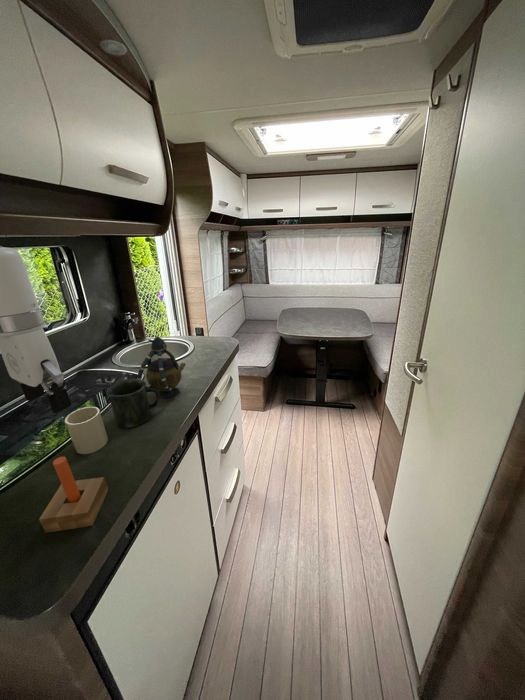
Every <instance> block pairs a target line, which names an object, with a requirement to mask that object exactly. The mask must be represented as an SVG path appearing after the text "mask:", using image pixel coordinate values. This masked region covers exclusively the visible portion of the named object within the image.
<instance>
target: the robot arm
mask: <svg viewBox="0 0 525 700" xmlns="http://www.w3.org/2000/svg"><path fill="white" fill-rule="evenodd" d="M45 326H46V323H45V319H44V316H43V314H42V311H41V308H40V306H39V302H38V299H37V296H36V294H35V291H34V289H33V286H32V282H31V279H30V277H29V274H28V271H27V268H26V265H25V263H24V260H23V258H22V255H21V254H20V252H19V251H17V249H14V248H11V247H6V246H5V247H4V246H3V247H1V246H0V354H1V357H2V360H3V362H4V366H5V368H6V370H7V373H8V376H9V377H10V378H11V379H12V380H14V381H17V382H18V383H19V386H20V389H21V391H22V393H23V396H24V398H25V400H26V401H28V402H31V401H33V400H36V399H38V398H40V397H43V396H45V397H46V400H47V403H48V405H49V407H50V410H51V412H52V413H53V414H58V413H59V412H61V411H64V410H65V409H67V408H69V407H71V406H72V402H71V400H70V397H69V394H68V391H67V386H66V382H65V375H64V373H63V372H62V371H61V368H60V364H59V362H58V360H57V359H58V358H57V356H56V354H55V351H54V349H53V347H52V345H51V342H50V340H49V338H48V336H47V334H46V332H45V330H44V328H45ZM51 382H52V383H51ZM49 383H51V385H49ZM46 393H47V394H46Z"/></svg>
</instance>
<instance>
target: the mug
mask: <svg viewBox="0 0 525 700" xmlns="http://www.w3.org/2000/svg"><path fill="white" fill-rule="evenodd" d="M145 386H147V383H146V381H145V380H143V379H137V378H129V379H124V380H120V381H117V382H115V383H113V384H111V385H110V386H108V388H107V389H106V390H105V391H106V392H105V393H106V396H108V398H109V401H110V405H111V409H112V412H113V415H114V416H113V417H114V419H115V423H116V425H118V426H119V427H120V428H124V429H126V428H127V429H130V428H135V427H138V426H140V425H143V424H144V423H147V421H148V420H149V419H150V417H151V414H152V411H151V409H153V408H155V407H156V406H157V405H158V404H159V402H160V401H159V392H158V390H157V389H155V388H147V389H145ZM147 393H154V394H156V395H157V398H155V401H154V402H153V403H151V404H150V403H149V399H148V394H147Z"/></svg>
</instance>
